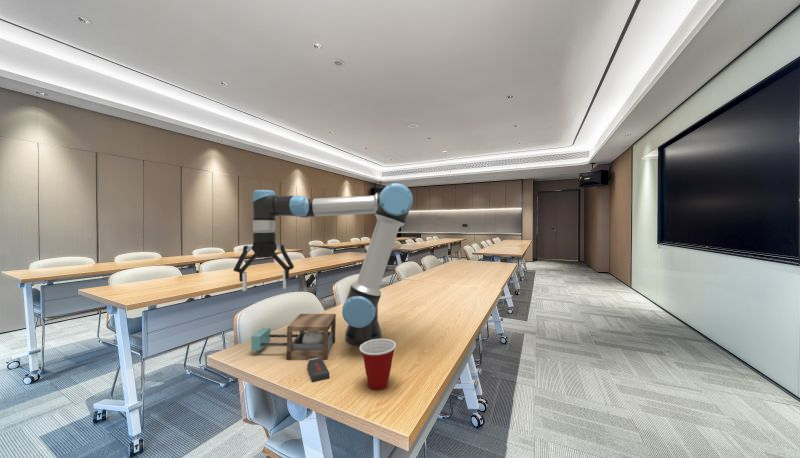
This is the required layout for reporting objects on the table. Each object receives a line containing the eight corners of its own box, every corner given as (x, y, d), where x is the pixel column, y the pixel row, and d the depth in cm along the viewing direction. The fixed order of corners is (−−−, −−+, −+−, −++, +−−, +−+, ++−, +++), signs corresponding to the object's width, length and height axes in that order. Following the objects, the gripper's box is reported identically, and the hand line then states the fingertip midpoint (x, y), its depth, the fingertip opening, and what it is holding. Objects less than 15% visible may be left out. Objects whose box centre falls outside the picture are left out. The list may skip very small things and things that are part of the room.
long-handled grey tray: (332, 343, 114) (333, 326, 114) (326, 357, 101) (326, 338, 101) (264, 343, 113) (264, 326, 113) (248, 357, 100) (249, 338, 100)
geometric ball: (311, 355, 109) (315, 334, 114) (326, 352, 106) (329, 330, 111) (295, 351, 104) (299, 329, 109) (310, 347, 101) (314, 325, 106)
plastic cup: (359, 375, 90) (360, 337, 90) (394, 375, 90) (394, 337, 90) (357, 396, 79) (358, 352, 79) (396, 394, 80) (397, 351, 80)
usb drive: (312, 383, 85) (312, 374, 85) (305, 366, 96) (305, 357, 96) (329, 379, 88) (329, 370, 88) (321, 363, 98) (321, 355, 98)
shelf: (335, 342, 115) (335, 313, 115) (327, 359, 100) (327, 327, 100) (300, 342, 115) (300, 313, 115) (286, 360, 99) (287, 326, 99)
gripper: (300, 231, 113) (301, 285, 113) (230, 232, 107) (230, 289, 107) (299, 231, 106) (299, 289, 106) (223, 232, 99) (223, 293, 99)
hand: (265, 289), depth 106 cm, fingers open, 13 cm apart
